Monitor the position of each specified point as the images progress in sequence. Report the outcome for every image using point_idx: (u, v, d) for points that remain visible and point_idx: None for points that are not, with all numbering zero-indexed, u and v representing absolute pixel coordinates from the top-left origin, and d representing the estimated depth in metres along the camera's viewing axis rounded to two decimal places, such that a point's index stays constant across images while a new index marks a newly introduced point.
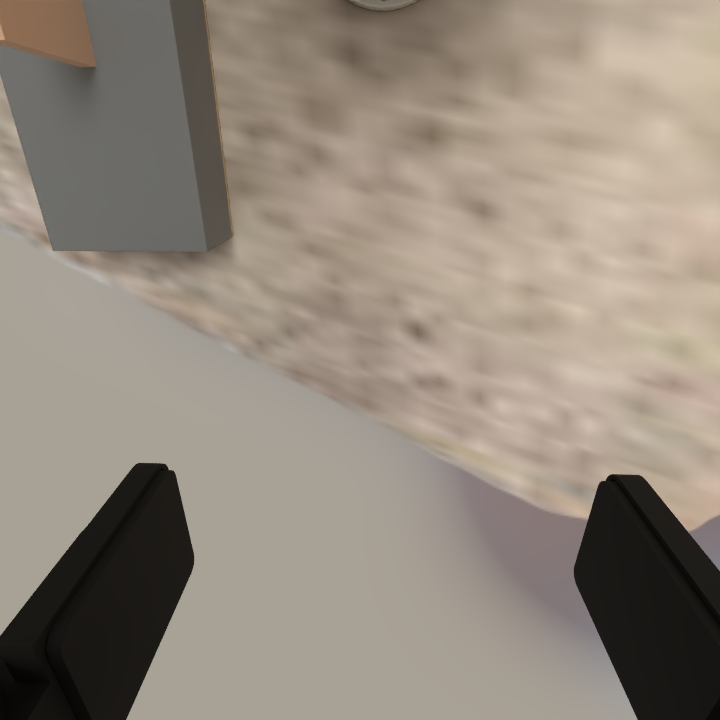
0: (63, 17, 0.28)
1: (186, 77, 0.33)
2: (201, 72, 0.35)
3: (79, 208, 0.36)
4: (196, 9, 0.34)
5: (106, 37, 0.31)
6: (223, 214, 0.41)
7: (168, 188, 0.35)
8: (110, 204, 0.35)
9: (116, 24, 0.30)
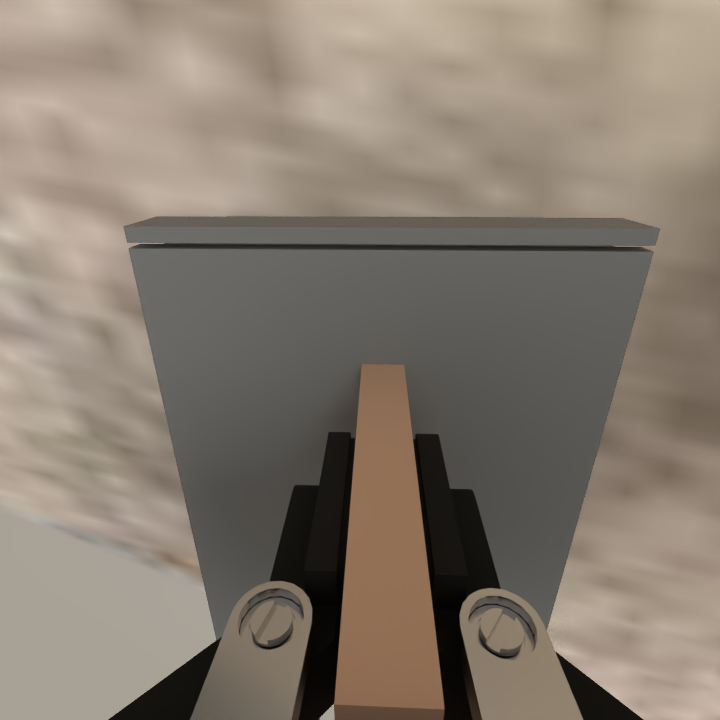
0: None
1: None
2: None
3: None
4: None
5: (438, 432, 0.13)
6: None
7: None
8: None
9: (472, 412, 0.13)
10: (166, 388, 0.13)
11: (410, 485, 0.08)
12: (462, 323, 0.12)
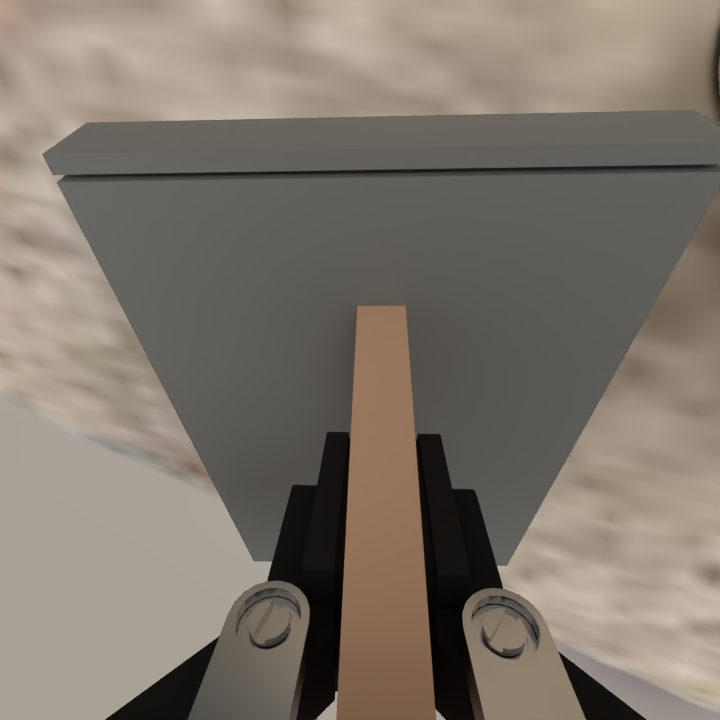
0: None
1: None
2: None
3: None
4: None
5: (441, 369, 0.12)
6: None
7: None
8: None
9: (480, 350, 0.12)
10: (142, 333, 0.12)
11: (410, 489, 0.07)
12: (475, 261, 0.10)
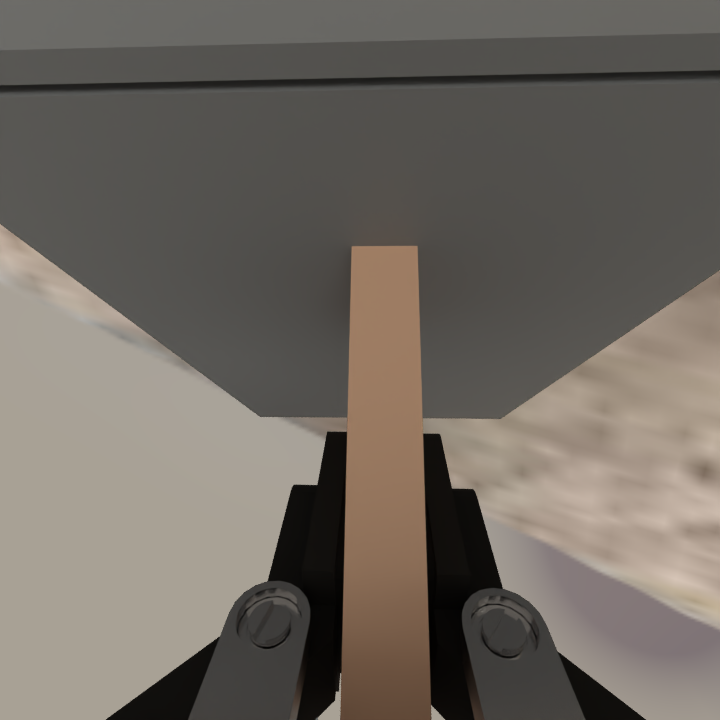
0: None
1: None
2: None
3: (309, 404, 0.21)
4: None
5: (458, 300, 0.10)
6: None
7: (476, 397, 0.19)
8: None
9: (509, 285, 0.09)
10: (74, 272, 0.09)
11: (416, 541, 0.06)
12: (524, 199, 0.07)
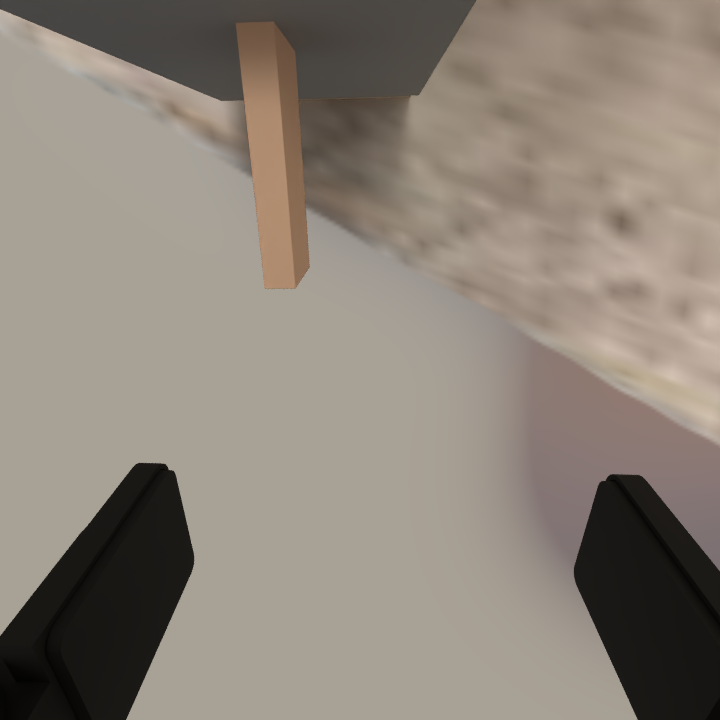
0: (290, 121, 0.16)
1: None
2: None
3: None
4: None
5: (318, 39, 0.16)
6: None
7: (384, 83, 0.25)
8: (299, 89, 0.26)
9: (343, 32, 0.15)
10: (72, 36, 0.15)
11: (283, 192, 0.16)
12: (317, 5, 0.13)
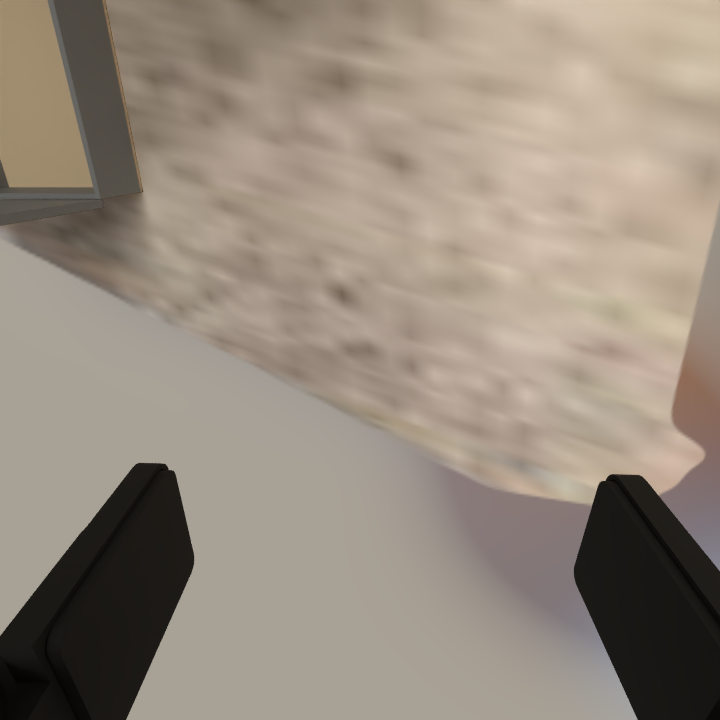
0: None
1: (60, 7, 0.31)
2: (86, 8, 0.33)
3: None
4: None
5: None
6: (125, 166, 0.39)
7: None
8: None
9: None
10: None
11: None
12: None
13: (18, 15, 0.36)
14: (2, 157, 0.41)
